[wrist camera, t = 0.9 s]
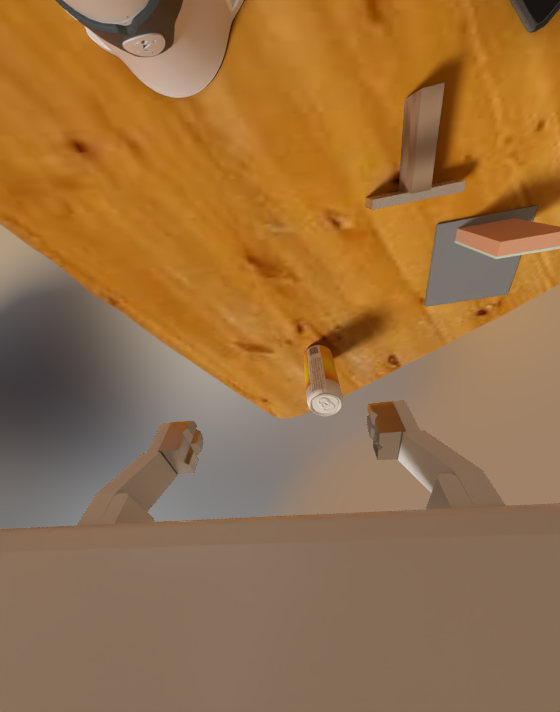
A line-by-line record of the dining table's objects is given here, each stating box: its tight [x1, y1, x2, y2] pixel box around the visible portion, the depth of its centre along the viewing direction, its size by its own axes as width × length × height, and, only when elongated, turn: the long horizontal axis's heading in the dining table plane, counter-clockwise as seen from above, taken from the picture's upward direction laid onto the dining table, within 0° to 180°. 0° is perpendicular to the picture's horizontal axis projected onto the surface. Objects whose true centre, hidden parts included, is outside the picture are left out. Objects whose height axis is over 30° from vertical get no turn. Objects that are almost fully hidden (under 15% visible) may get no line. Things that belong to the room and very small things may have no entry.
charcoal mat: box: [425, 206, 538, 307], centre depth 43 cm, size 14×14×1 cm
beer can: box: [304, 345, 343, 416], centre depth 49 cm, size 6×6×15 cm
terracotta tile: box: [455, 218, 560, 259], centre depth 36 cm, size 2×8×10 cm, turn 101°
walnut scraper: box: [365, 83, 466, 210], centre depth 33 cm, size 11×12×5 cm
